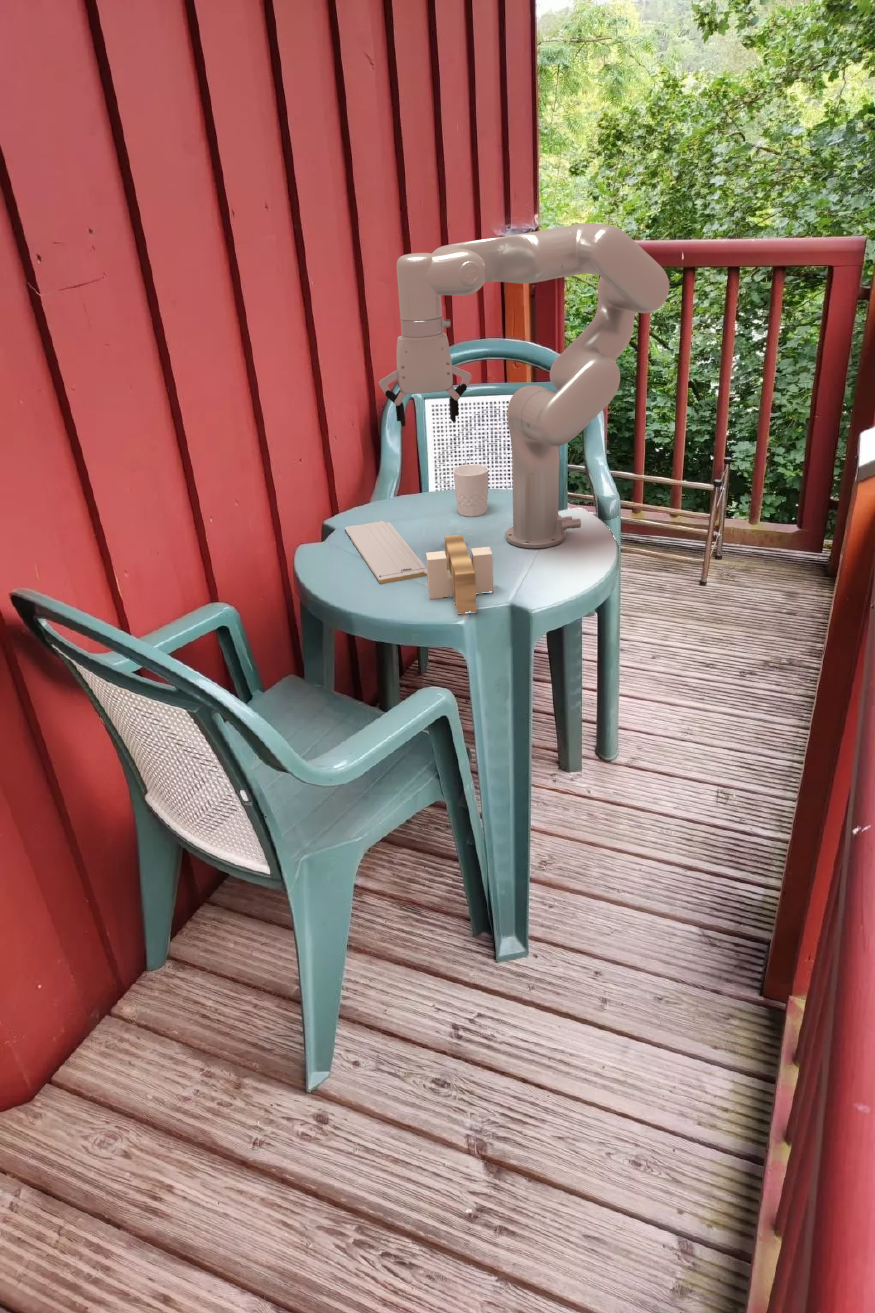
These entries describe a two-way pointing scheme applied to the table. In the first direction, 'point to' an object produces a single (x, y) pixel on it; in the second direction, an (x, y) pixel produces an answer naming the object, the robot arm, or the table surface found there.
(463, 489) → the white cup
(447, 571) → the cream upright board
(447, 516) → the table surface
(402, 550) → the baseboard molding
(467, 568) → the oak slotted board
